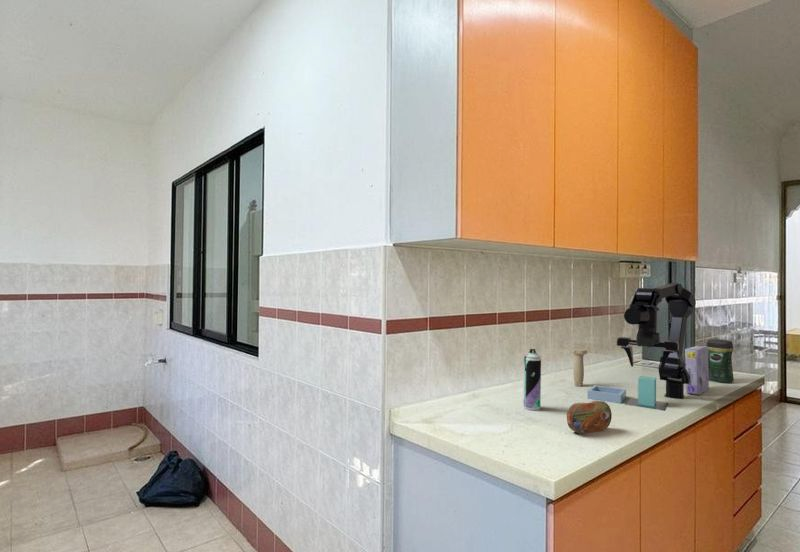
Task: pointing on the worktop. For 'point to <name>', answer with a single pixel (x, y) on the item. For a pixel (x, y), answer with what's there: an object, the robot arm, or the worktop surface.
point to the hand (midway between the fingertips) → (646, 368)
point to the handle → (578, 366)
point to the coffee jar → (720, 360)
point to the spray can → (532, 380)
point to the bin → (607, 394)
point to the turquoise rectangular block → (647, 391)
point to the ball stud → (657, 406)
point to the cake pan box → (697, 369)
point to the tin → (589, 417)
